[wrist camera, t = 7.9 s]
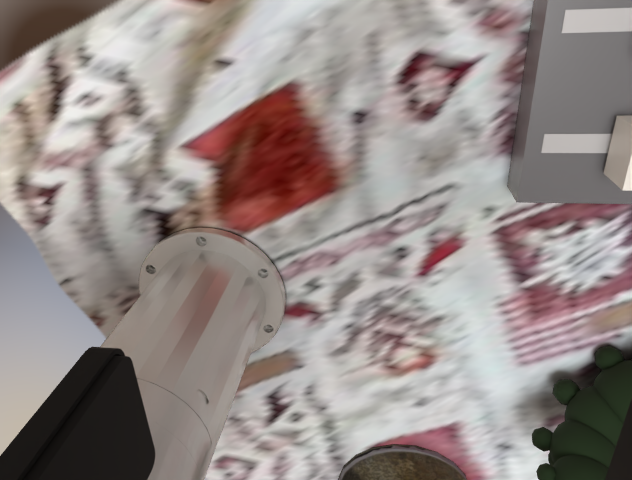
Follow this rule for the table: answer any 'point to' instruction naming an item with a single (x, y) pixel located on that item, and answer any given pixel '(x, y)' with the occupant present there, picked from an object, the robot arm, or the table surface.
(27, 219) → the table surface
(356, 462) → the lantern
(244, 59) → the table surface
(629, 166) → the switch
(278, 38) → the table surface
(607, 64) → the power strip
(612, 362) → the toy figurine
